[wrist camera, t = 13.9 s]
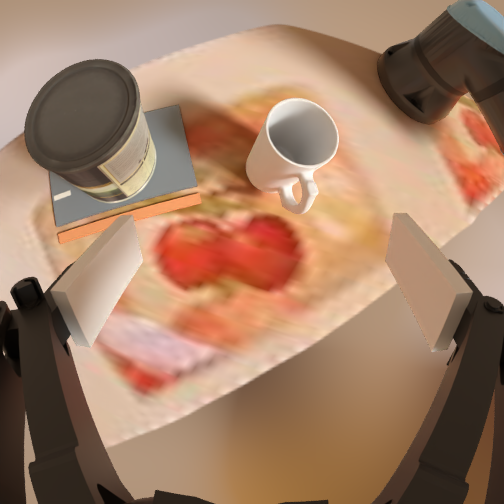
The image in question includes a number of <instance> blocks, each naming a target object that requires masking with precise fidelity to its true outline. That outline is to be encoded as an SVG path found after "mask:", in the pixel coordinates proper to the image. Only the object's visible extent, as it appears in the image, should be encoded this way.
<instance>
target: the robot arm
mask: <svg viewBox="0 0 504 504" xmlns="http://www.w3.org/2000/svg"><path fill="white" fill-rule="evenodd" d="M378 74H379V77H380V80H381V83H382V85H383V87H384V89H385V90H386V92H387V94H388V95H389V96H390V98H391V99H392V100H393V102H394V103H395V104H396V105H397V106H398V107H399V108H400V109H401V110H402V111H403V112H404V113H406V114H407V115H408V116H410V117H411V118H413V119H415V120H417V121H419V122H421V123H425V124H433V123H436V122H438V121H440V120H442V119H443V118H445V117H446V116H447V115H448V114H449V112H450V111H451V110H452V108H453V107H454V106H455V104H456V103H457V101H458V100H459V99H460V97H461V96H463V95H464V94H466V93H468V92H469V93H470V95H471V96H472V98H473V99H474V101H475V103H476V104H477V106H478V108H479V109H480V111H481V113H482V114H483V116H484V118H485V120H486V122H487V123H488V125H489V127H490V129H491V131H492V133H493V135H494V137H495V139H496V141H497V143H498V145H499V147H500V150H501V152H502V154H503V155H504V17H503V16H502V15H501V14H500V13H499V12H498V11H497V10H495V9H494V8H493V7H491V6H490V5H489V4H487V3H486V2H484V1H483V0H458V1H457V2H455V3H454V4H453V5H449V6H448V7H447V10H446V11H444V12H443V13H442V14H441V15H440V16H439V17H438V18H436V20H434V21H433V22H432V23H431V24H430V25H429V26H428V27H427V28H425V29H424V30H423V31H422V32H421V33H420V34H419V35H418V36H417V37H415V38H414V39H411V40H408V41H405V42H402V43H399V44H397V45H394V46H391V47H390V48H388V49H387V50H386V51H385V52H384V53H383V54H382V55H381V56H380V58H379V60H378ZM385 261H386V263H387V265H388V267H389V268H390V270H391V272H392V274H393V276H394V277H395V279H396V281H397V283H398V285H399V287H400V289H401V290H402V292H403V294H404V296H405V298H406V300H407V302H408V304H409V306H410V308H411V309H412V312H413V314H414V316H415V318H416V320H417V322H418V324H419V326H420V328H421V330H422V332H423V334H424V337H425V339H426V340H427V343H428V345H429V347H430V349H431V351H432V352H434V351H440V350H447V349H448V347H449V345H450V343H451V341H452V339H454V340H455V342H456V344H457V346H456V348H455V350H454V352H453V354H452V355H451V357H450V359H449V361H448V363H447V365H448V368H447V370H446V373H445V375H444V378H443V380H442V383H441V385H440V387H439V390H438V392H437V394H436V396H435V398H434V401H433V403H432V405H431V407H430V409H429V412H428V414H427V415H426V418H425V419H424V421H423V424H422V426H421V428H420V430H419V431H418V433H417V435H416V437H415V439H414V440H413V442H412V444H411V446H410V448H409V449H408V451H407V453H406V455H405V456H404V458H403V460H402V461H401V463H400V465H399V466H398V468H397V470H396V471H395V473H394V474H393V476H392V477H391V479H390V481H389V482H388V483H387V485H386V487H385V488H384V489H383V491H382V492H381V493H380V495H379V496H378V497H377V498H376V499H375V501H373V503H372V504H463V502H464V500H465V498H466V496H467V493H468V490H469V484H468V483H466V482H465V478H466V475H467V472H468V470H469V467H470V465H471V462H472V460H473V457H474V455H475V452H476V449H477V446H478V444H479V441H480V438H481V435H482V432H483V428H484V425H485V422H486V419H487V415H488V411H489V408H490V404H491V400H492V396H493V392H494V388H495V418H494V419H495V420H494V438H493V451H492V461H491V469H490V476H489V483H488V489H487V495H486V500H485V504H504V306H503V304H501V302H499V301H498V300H497V299H495V298H492V297H489V296H483V295H482V294H481V292H480V291H479V290H478V288H477V287H476V286H475V285H474V283H473V282H472V281H471V280H470V278H469V277H468V276H467V274H465V272H464V271H463V269H462V268H461V267H460V266H459V265H458V264H456V263H454V261H452V260H448V259H447V258H446V257H445V256H444V255H443V254H442V252H441V251H440V250H439V249H438V247H437V246H436V245H435V244H434V243H433V242H432V240H431V239H430V238H429V237H428V236H427V235H426V234H425V233H424V231H423V230H422V229H421V228H420V227H419V226H418V225H417V224H416V223H415V221H414V220H413V219H412V218H411V217H410V216H409V215H408V214H407V213H394V215H393V221H392V227H391V233H390V239H389V244H388V249H387V255H386V260H385ZM142 262H143V259H142V255H141V250H140V246H139V241H138V237H137V232H136V227H135V222H134V217H133V215H121V216H119V217H118V218H117V219H116V220H115V221H114V222H113V223H112V224H111V225H110V226H109V227H108V228H107V229H106V230H105V231H104V232H103V233H102V234H101V235H100V236H99V237H98V238H97V239H96V240H95V241H94V242H93V244H92V245H91V246H90V247H89V248H88V249H87V250H86V251H85V252H84V253H83V254H82V255H81V256H80V257H79V258H78V259H77V261H75V262H74V263H72V264H71V265H69V266H68V267H67V268H66V269H65V270H64V271H63V272H62V275H60V276H59V277H58V278H57V280H55V281H54V282H53V284H52V285H51V286H50V287H49V288H48V289H47V291H46V292H45V293H43V291H42V289H41V286H40V284H39V282H38V279H37V278H35V277H28V278H25V279H23V280H21V281H19V282H18V283H16V284H15V285H14V286H13V287H12V289H11V291H10V293H11V295H12V297H13V299H14V301H15V303H16V305H17V307H18V309H17V310H9V308H8V306H7V304H6V302H4V301H0V504H26V493H25V477H24V428H25V412H26V414H27V419H28V425H29V431H30V435H31V440H32V444H33V449H34V453H35V458H36V459H35V461H34V462H31V463H30V464H29V467H28V468H29V474H30V478H31V482H32V485H33V488H34V492H35V495H36V498H37V501H38V504H214V503H211V502H208V501H205V500H203V499H200V498H197V497H192V496H186V495H180V494H174V493H169V492H164V491H159V490H155V494H154V497H149V498H142V499H137V500H134V498H133V497H132V496H131V494H130V493H129V492H128V490H127V489H126V488H125V487H124V485H123V484H122V482H121V481H120V479H119V477H118V475H117V473H116V471H115V469H114V467H113V465H112V463H111V461H110V459H109V456H108V454H107V452H106V450H105V447H104V445H103V443H102V440H101V438H100V436H99V433H98V431H97V428H96V426H95V423H94V421H93V418H92V416H91V413H90V410H89V407H88V405H87V402H86V399H85V396H84V393H83V390H82V387H81V384H80V381H79V378H78V374H77V371H76V368H75V364H74V361H73V357H72V353H71V350H70V347H69V345H68V343H67V339H68V338H69V336H70V335H71V336H72V338H73V340H74V342H75V344H76V345H78V346H84V347H89V348H91V346H92V344H93V343H94V341H95V339H96V337H97V335H98V334H99V332H100V330H101V328H102V327H103V325H104V323H105V322H106V320H107V318H108V317H109V315H110V313H111V311H112V310H113V308H114V306H115V305H116V303H117V302H118V300H119V298H120V297H121V295H122V293H123V292H124V290H125V289H126V287H127V285H128V284H129V282H130V281H131V279H132V277H133V276H134V274H135V273H136V271H137V270H138V268H139V266H140V265H141V263H142ZM3 351H4V353H5V356H4V354H3ZM280 504H328V500H321V501H306V502H285V503H280Z"/></svg>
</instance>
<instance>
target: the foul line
mask: <svg viewBox="0 0 504 504" xmlns="http://www.w3.org/2000/svg"><path fill="white" fill-rule="evenodd" d="M197 204H201V199H200V195H199V193H197V194H193V195H189V196H185V197H181V198H177V199H173V200H170V201H166V202H162V203H158V204H155V205H151V206H147V207H144V208H140V209H137V210H133V211H130V212H126V213H123V214H120V215H116V216H113V217H110V218H106V219H103V220H100V221H97V222H93V223H90V224H87V225H84V226H81V227H78V228H75V229H72V230H69V231H66V232H63V233H60V234H58V236H59V241H60V244H62V243H65V242H68V241H71V240H74V239H77V238H81V237H84V236H87V235H90V234H93V233H97V232H100V231H103V230H106V229H107V228H108V227H109V226H110V225H111V224H112V223H113V222H114V221H115V220H116V219H117V218H118V217H119V216H121V215H133V217H134V221H137V220H141V219H144V218H148V217H152V216H155V215H159V214H162V213H166V212H170V211H174V210H178V209H181V208H185V207H189V206H193V205H197Z"/></svg>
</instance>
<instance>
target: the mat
mask: <svg viewBox="0 0 504 504" xmlns="http://www.w3.org/2000/svg"><path fill="white" fill-rule="evenodd" d="M144 115H145V119H146V122H147V125H148V129H149V132H150V135H151V138H152V140H153V142H154V145H155V149H156V156H157V157H156V166H155V170H154V173H153V175H152V177H151V179H150V181H149V182H148V184H147V185H146V186H145V187H144V188H143V189H142V190H141V191H140V192H139V193H138V194H137V195H135V196H134V197H132V198H130V199H128V200H126V201H123V202H118V203H103V202H100V201H97V200H95V199H93V198H92V197H90V196H89V195H88V194H87V193H85V192H83V191H82V190H80V189H79V188H77V187H76V186H74V185H73V184H71V183H69V182H68V181H66V180H65V179H63V178H61V177H60V176H59V175H57V174H55V173H54V172H52V171H49V173H50V183H51V192H52V200H53V207H54V214H55V221H56V227H60V226H62V225H65V224H68V223H71V222H74V221H77V220H80V219H83V218H87V217H90V216H93V215H96V214H99V213H102V212H106V211H109V210H112V209H115V208H119V207H122V206H126V205H129V204H132V203H136V202H139V201H143V200H147V199H150V198H154V197H157V196H161V195H165V194H169V193H172V192H176V191H180V190H184V189H188V188H192V187H196V186H197V182H196V178H195V174H194V170H193V165H192V161H191V157H190V153H189V148H188V144H187V140H186V135H185V131H184V127H183V122H182V118H181V113H180V109H179V105H175V106H170V107H166V108H162V109H158V110H154V111H150V112H146V113H144Z"/></svg>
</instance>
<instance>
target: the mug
mask: <svg viewBox="0 0 504 504" xmlns="http://www.w3.org/2000/svg"><path fill="white" fill-rule="evenodd" d="M338 143H339V136H338V130H337V127H336V125H335V123H334V121H333V119H332V118H331V116H330V115H329V114H328V113H327V112H326V111H325V110H324V109H323V108H322V107H321V106H319V105H318V104H316V103H314V102H312V101H309V100H306V99H302V98H289V99H285V100H283V101H281V102H279V103H277V104H276V105H275V106H274V107H273V108H272V109H271V110H270V112H269V114H268V116H267V118H266V120H265V122H264V124H263V126H262V128H261V130H260V132H259V135H258V137H257V139H256V141H255V143H254V145H253V147H252V149H251V152H250V154H249V156H248V158H247V161H246V173H247V176H248V178H249V180H250V182H251V183H252V184H253V185H254V186H255V187H256V188H257V189H259V190H261V191H263V192H266V193H279V195H280V198H281V203H282V206H283V207H284V208H285V209H287V210H289V211H291V212H293V213H295V214H303V213H306V212H307V211H308V210H309V208H310V207H311V205H312V203H313V201H314V199H315V196H316V195H317V194H318V189H317V186H316V183H315V182H314V181H313V172H314V171H315V170H317V169H318V168H320V167H321V166H322V165H324V164H326V163H327V162H329V161H330V160H331V159H332V157H333V156H334V155H335V153H336V151H337V148H338ZM298 181H300V183H301V187H302V199H301V202H300V203H299V204H298V203H297V202H296V201H295V199H294V197H293V193H292V186H293V185H294V184H295V183H297V182H298Z"/></svg>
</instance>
